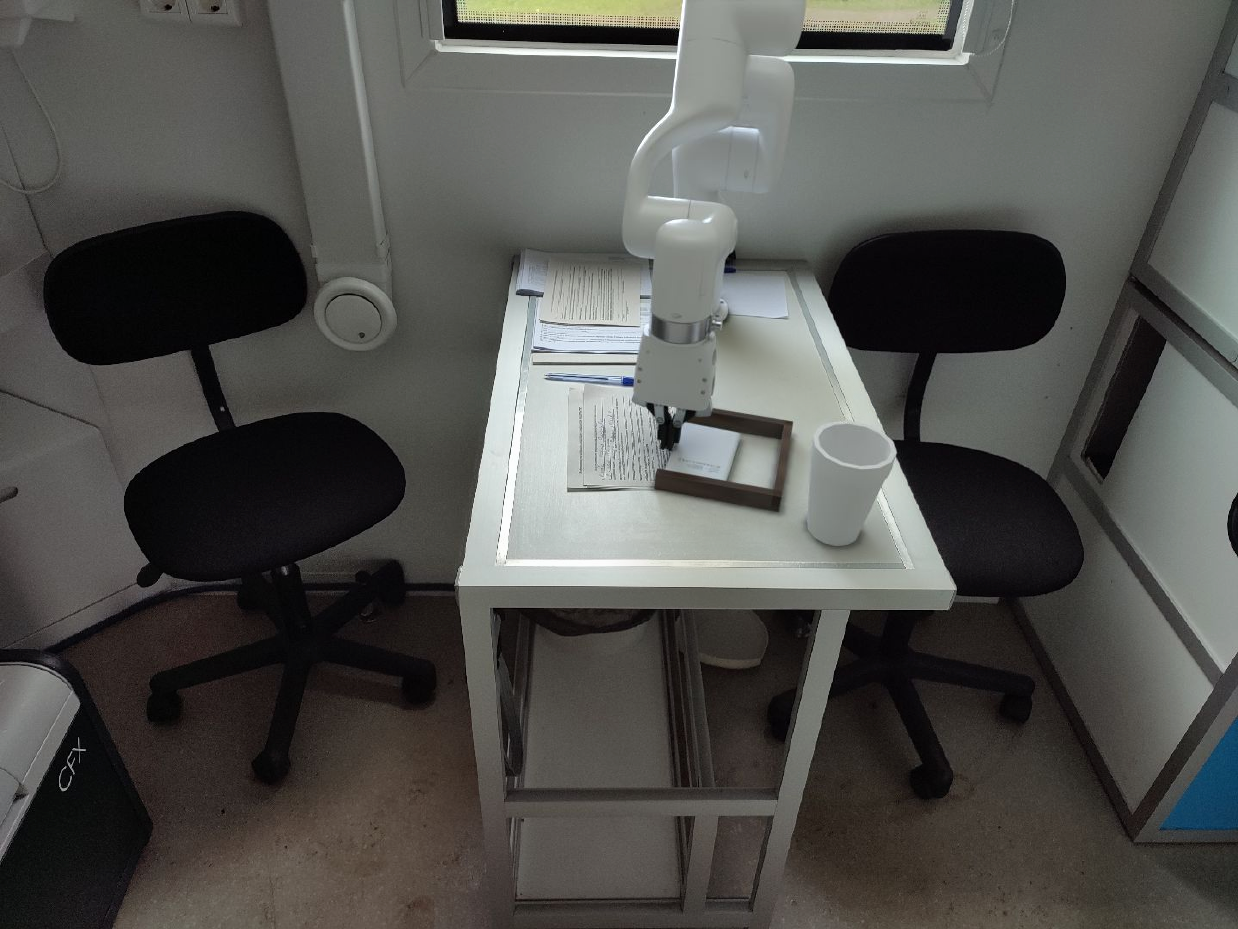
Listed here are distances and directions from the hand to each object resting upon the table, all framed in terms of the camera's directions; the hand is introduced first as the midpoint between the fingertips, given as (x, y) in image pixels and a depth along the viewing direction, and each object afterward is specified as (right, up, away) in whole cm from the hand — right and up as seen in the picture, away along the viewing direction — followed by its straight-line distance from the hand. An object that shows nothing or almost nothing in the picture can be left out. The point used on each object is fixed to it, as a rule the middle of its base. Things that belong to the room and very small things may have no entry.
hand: (668, 444), depth 117 cm
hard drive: (+5, -2, 0) cm, 5 cm away
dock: (+7, -2, 0) cm, 8 cm away
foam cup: (+20, -11, -10) cm, 25 cm away
